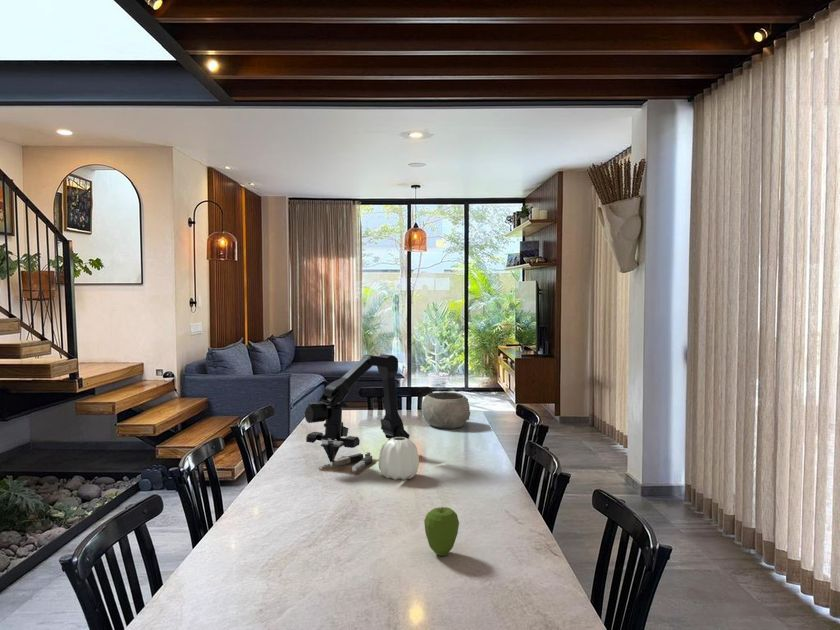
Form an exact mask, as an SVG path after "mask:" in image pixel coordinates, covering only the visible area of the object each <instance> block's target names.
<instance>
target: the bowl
mask: <svg viewBox="0 0 840 630" xmlns="http://www.w3.org/2000/svg"><path fill="white" fill-rule="evenodd" d="M469 403H470V402H469V399H468V398H467V397H466V395H464V394H463V393H460V392H454V391H449V392H448V391H441V392H430V393H428V394H427V395H425V396H424V398H423V401H422V404H421V415H422V416H423V419H424V420H425V422H426V423H427V424H428V425H430V426H433V427H435V428H438V429H448V430H449V429H450V430H454V429H459V428H461V427H463V426H464V425H465V423H466V422H467V420H468V421H469V420H470V417H471V409H470V404H469Z"/></svg>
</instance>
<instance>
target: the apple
mask: <svg viewBox="0 0 840 630" xmlns="http://www.w3.org/2000/svg"><path fill="white" fill-rule="evenodd" d="M423 524H424V532H425V536H426V538H427V539H426V540H427V543H428V545H429V548H430V549H431V551H433V552H434V554H436V556H439V557H444V556H445V557H446V556H447V555H448V554H449V553H450V551H451V550H452V549H453V548H454V545H455V542H456V539H457V537H458V534H459V533H458V532H459V527H460V521H459V517H458V514H457V512H456V511H454V510H453V509H452V508H450V507H447V506H440V507H434V508H433V509H431V510H429V511H428V512H427V514H426V515H425V518H424V520H423Z"/></svg>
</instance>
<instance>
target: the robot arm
mask: <svg viewBox="0 0 840 630" xmlns="http://www.w3.org/2000/svg"><path fill="white" fill-rule="evenodd" d="M372 367H377V372H378V373H379V375H380V377H381V378H382V391H383V400H384V401H383V402H384V411H385V414H384V417H383V418H380V425H381V426H380V429H381V430H382V433H383V434H384V436H385V438H386V439H387V441H388V440H390V439H391V438H394V437H404V438H407V439H409V440H410V434H409V433H408V432H407V430H406V429H405V426H404V422H403V419H402V418H401V416H400V414H399V408H398V396H397V385H396V375H397V374H398V371H399V359H398V357H396V356H395V355H393V354H385V353H382V354H380V355H374V354H364V355H363V356H362V357H361V359H359V361H358V362H357V363H356V364H354V365H353V366H352V367H351V368H350V369H349V370H348V371H347V372H346V373H345V374H344V375H342V377H340V378H339V379H336V380H334V381H332V382H331V383H329V384H328V385H326V387H325V388H324V390H323V393H322V395H321V396H320V398H318V400H317V402H314V403H313V402H309V403H308V405H307V407H306V409H305V411H304V418H305V422H306V423H308V424H312V423H323V422H324V423H323V427H324V429H325V430H324V431H325V432H324V433H323V432H319V431H312V432H310V433H308V434H307V435H306V437H305V438H306V439H305V442H306V443H311V444H313V443H315V442H317V441H321V444H320V447H323V450H324V452H325V453H326V455H327V458H328V460H329V462H330V461H334V460H336V456H337V454H338V452H339V449H340V448H341V447H345V448H350V449H353V448H356V447H358V446H360V443H361V442H360V438H359V437H358V436H351V435H349V436H348V433H349V428H348V427H346V426H344V422H343V421H342V419H343V408H348V405H347V404H346V403H345V401H344V400H345V398H347V396H348V395H349V393H350V391H351V388H352V386H353V385H354V384H355V383H357V381H359V379H361V378H362V377H363V376H364V374H366V373H367V372H368V371H369V370H370V369H371V368H372Z"/></svg>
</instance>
